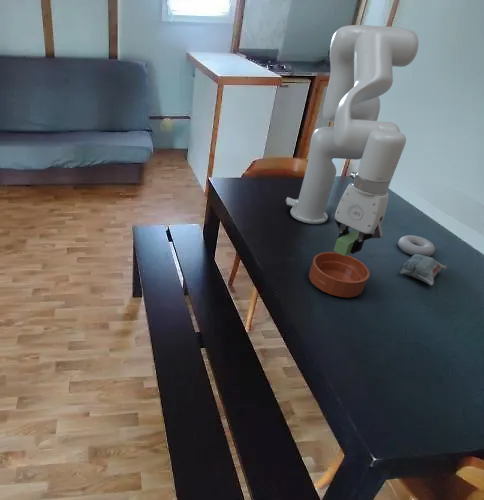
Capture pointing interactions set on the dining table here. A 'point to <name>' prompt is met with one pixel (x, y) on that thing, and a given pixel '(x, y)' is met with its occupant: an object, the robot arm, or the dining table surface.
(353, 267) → the bowl
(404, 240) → the donut
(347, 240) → the bar
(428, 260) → the packaged food
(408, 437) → the dining table surface
